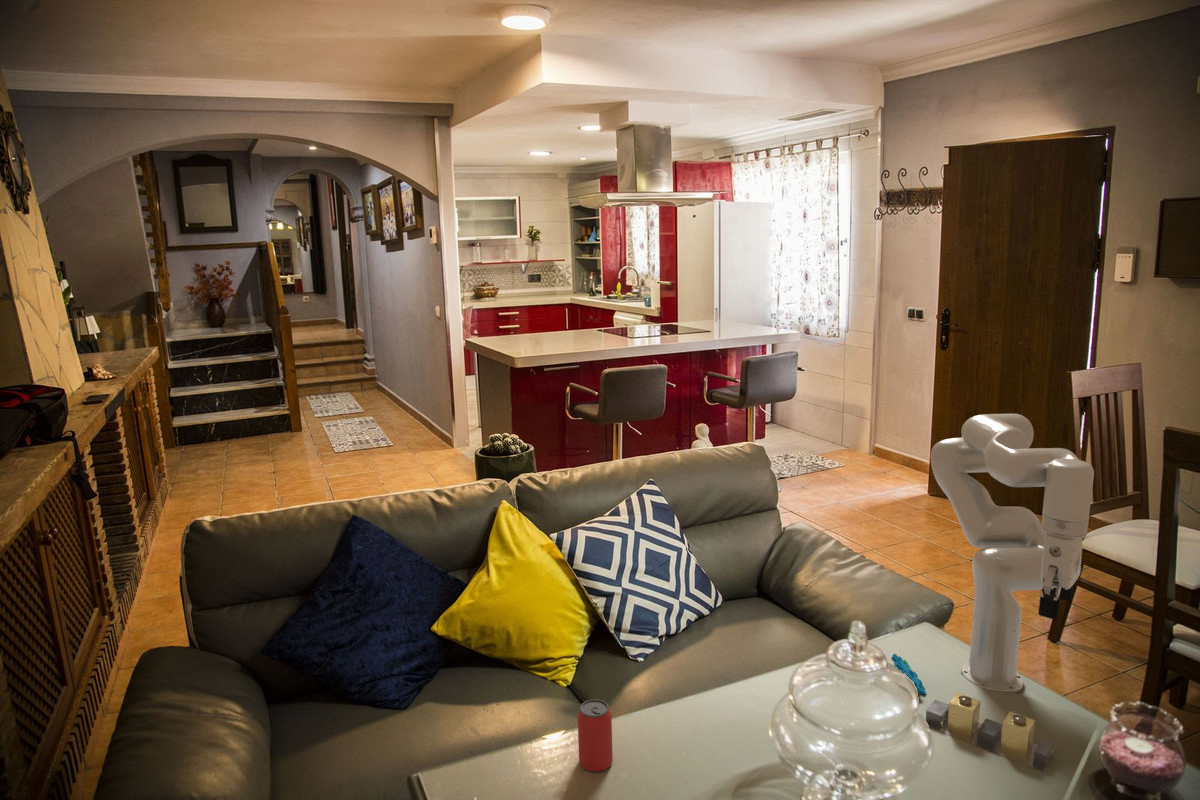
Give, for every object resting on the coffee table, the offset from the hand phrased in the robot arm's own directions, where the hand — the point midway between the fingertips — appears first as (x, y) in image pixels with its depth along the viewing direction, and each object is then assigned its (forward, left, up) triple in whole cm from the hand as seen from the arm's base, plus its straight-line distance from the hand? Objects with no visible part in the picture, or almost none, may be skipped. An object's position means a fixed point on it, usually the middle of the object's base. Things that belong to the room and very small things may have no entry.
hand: (1055, 607), depth 151 cm
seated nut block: (+9, -12, -27) cm, 31 cm away
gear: (0, -27, -28) cm, 39 cm away
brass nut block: (+9, -2, -27) cm, 28 cm away
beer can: (+64, -63, -28) cm, 94 cm away
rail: (+9, -8, -28) cm, 30 cm away
